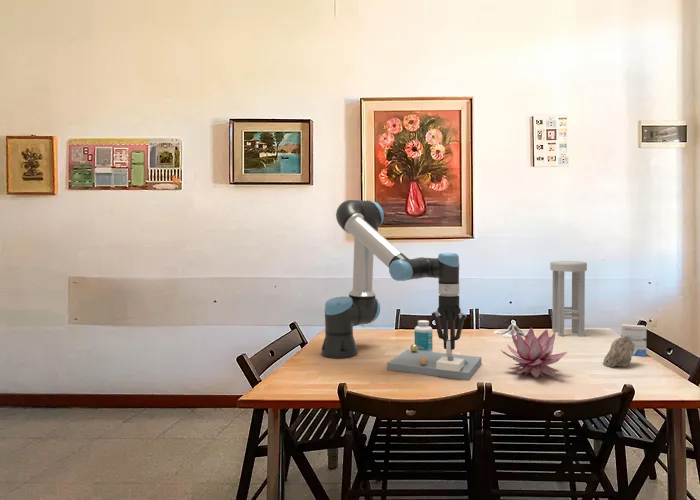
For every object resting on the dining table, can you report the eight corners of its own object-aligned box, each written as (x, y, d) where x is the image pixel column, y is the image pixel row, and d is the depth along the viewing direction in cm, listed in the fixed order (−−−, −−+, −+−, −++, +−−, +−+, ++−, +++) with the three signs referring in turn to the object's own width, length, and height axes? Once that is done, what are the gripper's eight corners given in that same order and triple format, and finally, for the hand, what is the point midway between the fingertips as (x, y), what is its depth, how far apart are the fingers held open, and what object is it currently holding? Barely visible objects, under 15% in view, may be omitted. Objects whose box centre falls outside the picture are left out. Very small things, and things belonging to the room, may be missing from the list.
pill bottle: (432, 355, 193) (432, 323, 192) (414, 355, 194) (413, 322, 194) (432, 351, 200) (432, 319, 200) (415, 350, 202) (414, 319, 201)
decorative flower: (560, 386, 153) (561, 341, 152) (494, 376, 164) (494, 334, 164) (569, 369, 171) (569, 328, 170) (509, 361, 182) (509, 323, 182)
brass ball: (409, 352, 189) (409, 344, 189) (411, 350, 192) (411, 342, 192) (416, 353, 187) (416, 345, 187) (419, 351, 190) (419, 343, 190)
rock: (628, 355, 167) (605, 344, 172) (619, 378, 171) (597, 366, 177) (643, 340, 175) (620, 330, 181) (634, 362, 180) (613, 352, 185)
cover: (436, 369, 165) (436, 358, 165) (442, 363, 172) (442, 353, 172) (458, 371, 161) (458, 361, 161) (464, 365, 168) (464, 355, 168)
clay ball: (417, 365, 171) (417, 356, 170) (420, 363, 173) (420, 354, 173) (426, 366, 169) (426, 357, 169) (429, 364, 172) (428, 355, 172)
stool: (546, 330, 237) (547, 261, 236) (579, 330, 235) (579, 260, 234) (555, 337, 222) (556, 263, 221) (590, 337, 220) (591, 263, 219)
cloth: (545, 338, 222) (545, 325, 222) (510, 341, 218) (510, 328, 217) (516, 329, 244) (516, 317, 244) (484, 331, 239) (484, 319, 239)
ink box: (644, 353, 191) (644, 325, 191) (646, 356, 187) (646, 327, 186) (620, 351, 195) (620, 323, 194) (621, 354, 190) (622, 325, 190)
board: (387, 369, 175) (387, 363, 174) (407, 355, 194) (407, 349, 194) (468, 380, 161) (468, 373, 161) (481, 363, 181) (481, 357, 181)
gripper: (428, 295, 174) (429, 358, 175) (464, 297, 168) (464, 362, 169) (434, 292, 180) (435, 353, 181) (468, 294, 174) (469, 357, 175)
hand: (449, 357), depth 175 cm, fingers closed
